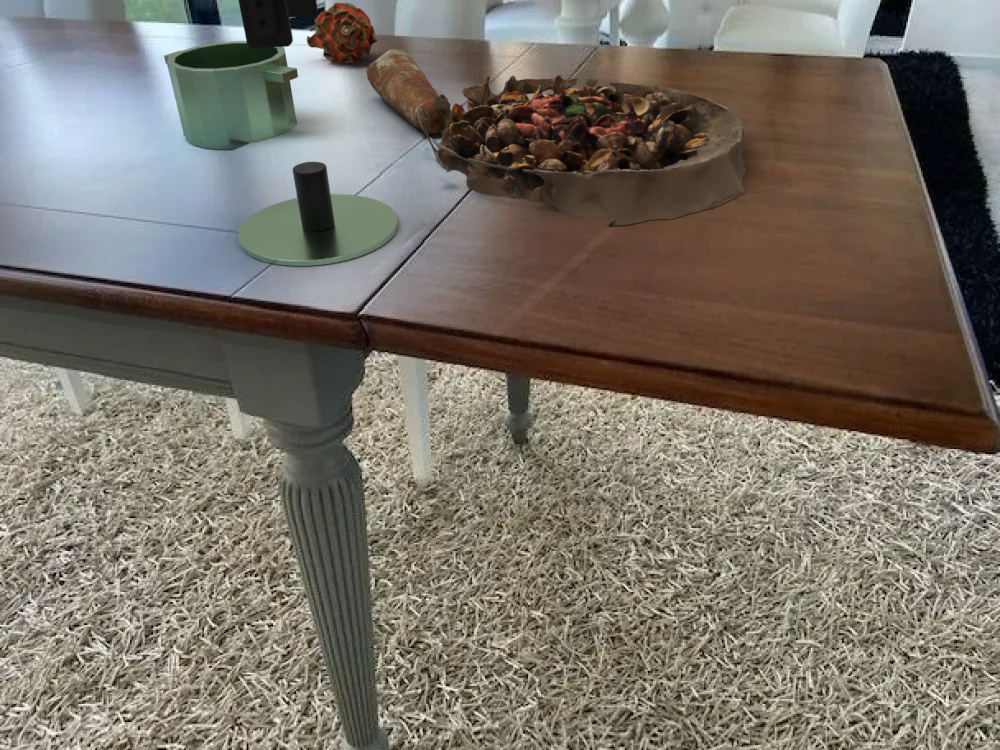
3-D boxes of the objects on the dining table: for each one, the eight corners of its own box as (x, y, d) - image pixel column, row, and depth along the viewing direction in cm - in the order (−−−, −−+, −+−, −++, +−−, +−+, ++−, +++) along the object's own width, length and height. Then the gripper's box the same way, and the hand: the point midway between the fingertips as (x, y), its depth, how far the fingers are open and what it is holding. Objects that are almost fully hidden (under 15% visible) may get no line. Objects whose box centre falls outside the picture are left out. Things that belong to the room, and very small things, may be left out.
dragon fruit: (366, 81, 120) (327, 77, 129) (401, 35, 121) (360, 34, 130) (323, 36, 114) (286, 34, 123) (361, -12, 115) (321, -10, 124)
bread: (415, 90, 110) (412, 45, 107) (458, 136, 95) (455, 85, 92) (367, 96, 109) (363, 50, 106) (403, 143, 94) (399, 92, 91)
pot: (261, 160, 91) (245, 79, 86) (145, 135, 98) (125, 59, 94) (337, 125, 99) (326, 50, 95) (225, 105, 107) (210, 34, 102)
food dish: (387, 136, 98) (381, 66, 94) (640, 103, 108) (644, 39, 104) (494, 250, 71) (492, 158, 67) (821, 193, 80) (837, 109, 76)
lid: (330, 287, 67) (318, 212, 63) (206, 251, 73) (188, 181, 69) (428, 222, 77) (423, 154, 73) (311, 195, 82) (301, 130, 79)
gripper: (217, -241, 63) (263, 8, 72) (132, -250, 48) (203, 62, 58) (319, -246, 62) (351, 4, 72) (264, -256, 48) (313, 58, 58)
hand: (285, 30), depth 65 cm, fingers open, 9 cm apart
